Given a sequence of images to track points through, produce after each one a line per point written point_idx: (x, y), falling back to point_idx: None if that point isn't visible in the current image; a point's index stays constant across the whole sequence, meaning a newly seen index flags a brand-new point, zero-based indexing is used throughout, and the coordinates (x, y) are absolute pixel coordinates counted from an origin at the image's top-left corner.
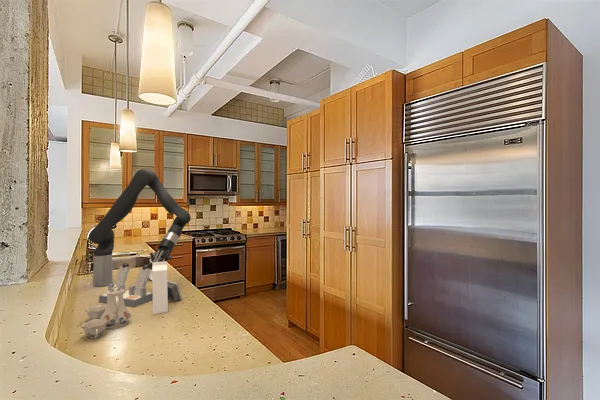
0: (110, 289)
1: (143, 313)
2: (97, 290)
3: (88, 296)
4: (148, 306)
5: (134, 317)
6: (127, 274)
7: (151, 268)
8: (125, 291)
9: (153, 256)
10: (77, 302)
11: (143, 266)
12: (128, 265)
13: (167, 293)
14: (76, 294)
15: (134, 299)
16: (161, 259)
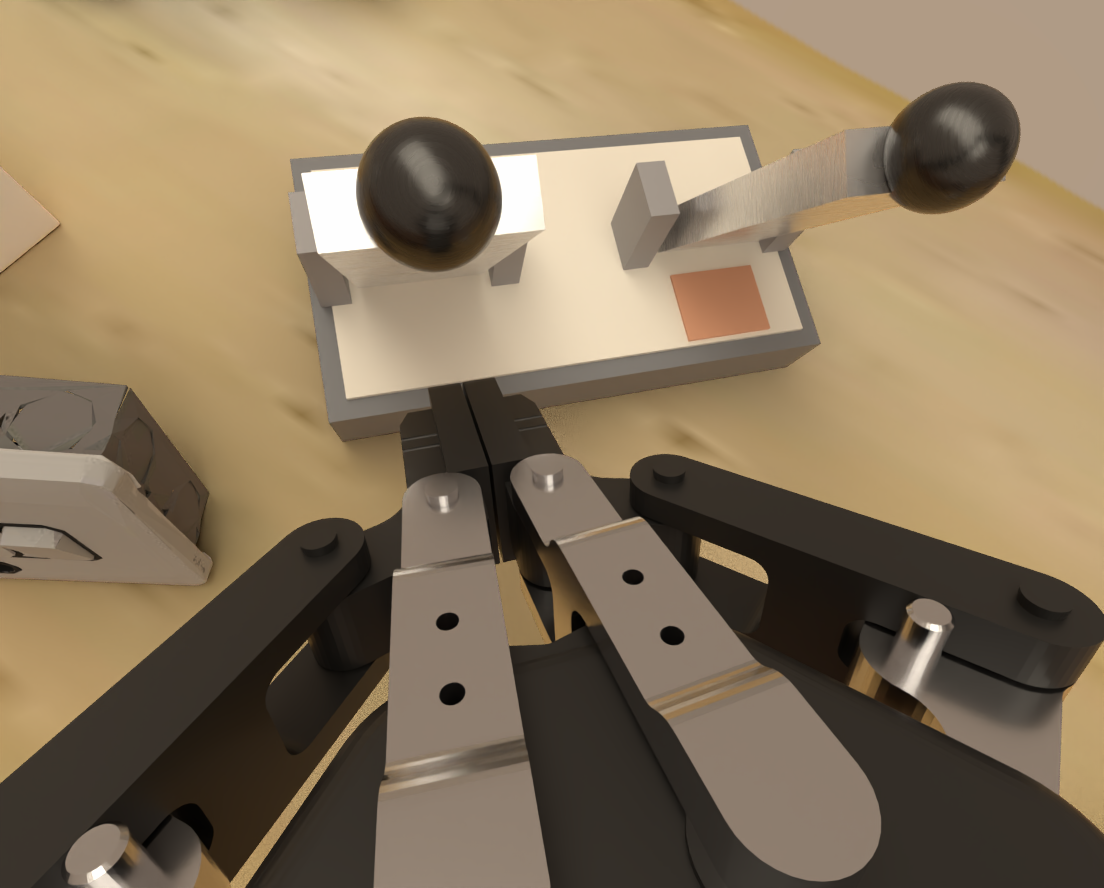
0: None
1: (74, 130)
2: (1071, 349)
3: (946, 219)
4: (194, 264)
5: (73, 46)
6: (766, 212)
7: (464, 383)
8: (665, 298)
9: (821, 597)
10: (852, 103)
11: (436, 119)
12: (911, 167)
13: (175, 513)
14: (1072, 211)
15: (319, 170)
16: (291, 580)
